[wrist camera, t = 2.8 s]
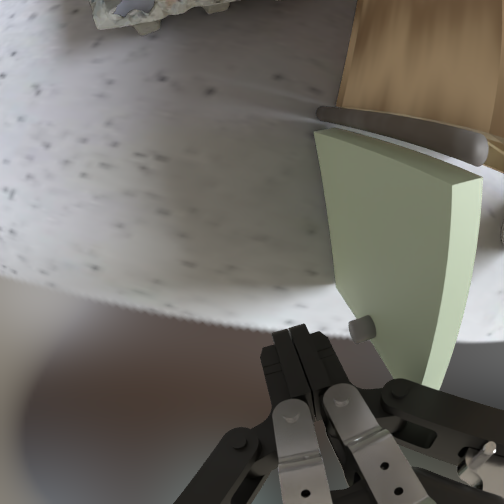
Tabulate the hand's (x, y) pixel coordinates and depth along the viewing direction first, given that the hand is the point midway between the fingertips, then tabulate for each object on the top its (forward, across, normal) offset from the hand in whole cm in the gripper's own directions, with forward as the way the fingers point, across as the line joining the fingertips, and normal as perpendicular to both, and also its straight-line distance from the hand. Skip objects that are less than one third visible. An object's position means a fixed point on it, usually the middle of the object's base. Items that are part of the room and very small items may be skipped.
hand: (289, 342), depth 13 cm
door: (+6, -4, -3) cm, 7 cm away
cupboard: (+6, -12, -11) cm, 18 cm away
